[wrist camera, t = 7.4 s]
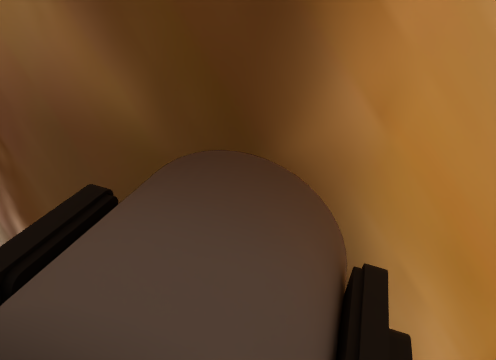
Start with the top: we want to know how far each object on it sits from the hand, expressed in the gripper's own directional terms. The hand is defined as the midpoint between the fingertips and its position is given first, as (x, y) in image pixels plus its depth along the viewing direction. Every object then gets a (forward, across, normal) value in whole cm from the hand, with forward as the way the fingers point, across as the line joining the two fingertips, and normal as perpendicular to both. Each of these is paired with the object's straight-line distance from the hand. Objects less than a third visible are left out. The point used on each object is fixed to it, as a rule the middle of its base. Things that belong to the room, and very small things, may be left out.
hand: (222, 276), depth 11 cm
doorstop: (+1, 0, 0) cm, 1 cm away
